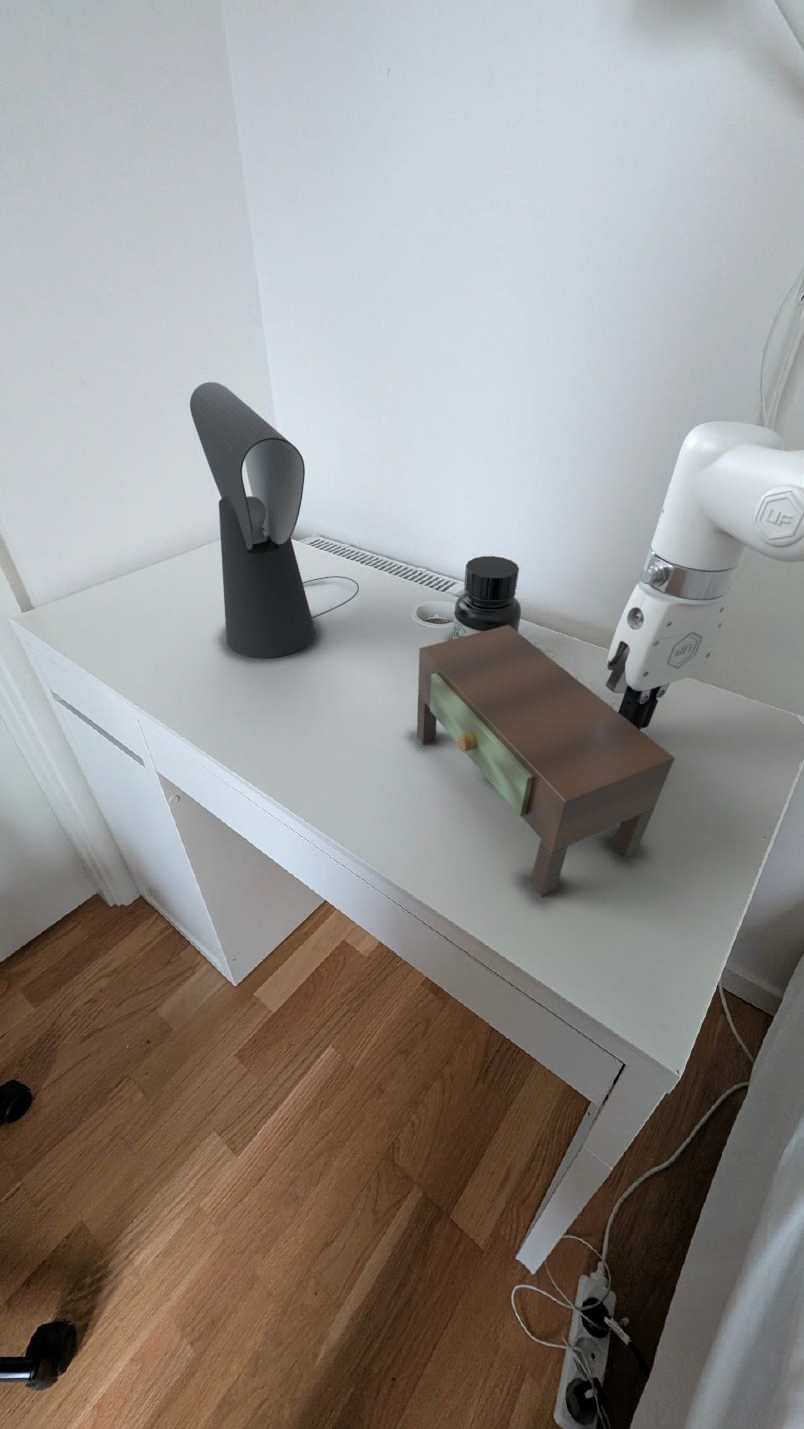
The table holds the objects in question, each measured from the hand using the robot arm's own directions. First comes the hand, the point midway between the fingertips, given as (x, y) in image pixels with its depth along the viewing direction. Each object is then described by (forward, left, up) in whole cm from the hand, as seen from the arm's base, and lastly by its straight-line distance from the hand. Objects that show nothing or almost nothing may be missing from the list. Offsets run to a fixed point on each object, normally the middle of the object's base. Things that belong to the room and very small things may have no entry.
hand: (632, 721), depth 65 cm
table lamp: (+46, +28, -3) cm, 54 cm away
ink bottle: (+24, +4, -3) cm, 24 cm away
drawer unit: (-1, +16, -2) cm, 17 cm away
